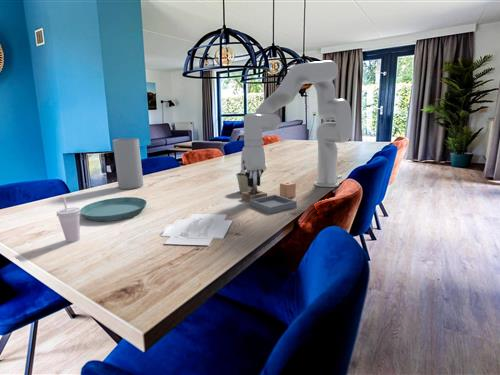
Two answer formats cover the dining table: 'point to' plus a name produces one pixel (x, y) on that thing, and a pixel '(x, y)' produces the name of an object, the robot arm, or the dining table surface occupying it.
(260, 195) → the walnut bore block
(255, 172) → the steel pin
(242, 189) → the flower pot
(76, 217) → the smoothie
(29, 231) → the dining table surface
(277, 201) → the grey square tray
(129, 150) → the cylinder vase
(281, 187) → the orange block with knob
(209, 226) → the white flat piece
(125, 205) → the teal plate
